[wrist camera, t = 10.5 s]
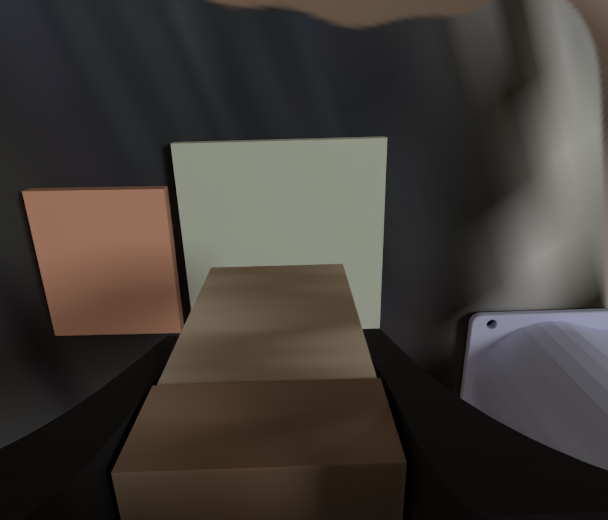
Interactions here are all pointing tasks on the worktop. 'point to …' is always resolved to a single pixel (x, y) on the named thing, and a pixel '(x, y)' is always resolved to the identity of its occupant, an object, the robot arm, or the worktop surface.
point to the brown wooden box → (266, 409)
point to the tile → (106, 259)
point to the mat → (285, 208)
